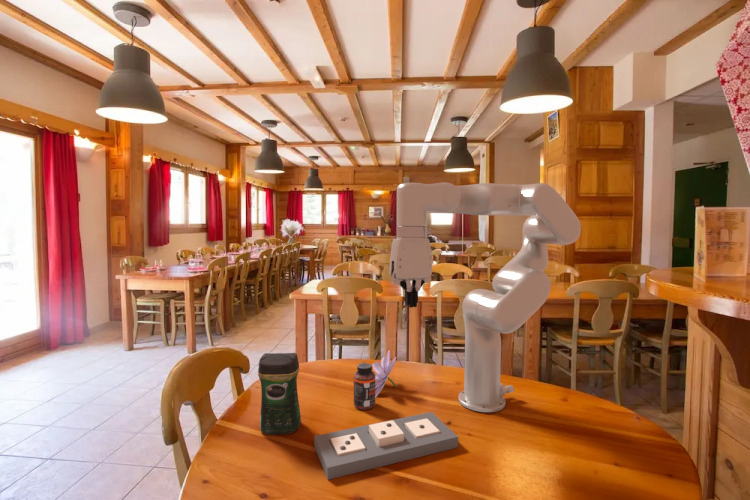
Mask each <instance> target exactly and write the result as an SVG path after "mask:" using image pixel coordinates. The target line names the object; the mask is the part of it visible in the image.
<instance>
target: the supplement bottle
mask: <svg viewBox="0 0 750 500" xmlns="http://www.w3.org/2000/svg"><path fill="white" fill-rule="evenodd" d="M356 369H357V371H355V372H354V374H353V406H354V408H356V409H358V410H362V411H363V410H364V411H365V410H366V411H367V410H371V409H373V408H374V407H375V406H376V397H375V392H376V389H375V384H376V383H375V374H376V372H375V371H374V370H373V364H371V363H366V362H361V363H359V364H357V367H356Z"/></svg>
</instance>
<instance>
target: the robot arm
mask: <svg viewBox="0 0 750 500" xmlns="http://www.w3.org/2000/svg"><path fill="white" fill-rule="evenodd" d="M428 214H460V215H461V214H463V215H470V216H503V217H504V216H509V217H510V216H512V217H513V216H514V217H516V216H517V217H519V216H520V217H522V216H527V218H526V219H525V221H524V222H523V226H522V231H521V233H522V246H521V249H520V250H519V251H518V252H517V253H516V255H515V256H514V257H512V259H510V260H509V261H508V262H507V263H506V264H505V265H504V266H503V267H501V268H500V269H499V270H498V271H497V272H496V273H495V275H494V277H493V278H492V283H491V286H492V289H493V290H489V289H486V288H485V289H484V288H476V289H472V290H471V291H469V292H468V293H467V294H466V295H465V297H464V298H463V300H462V301H463V302H462V306H461V307H462V308H461V309H462V310H461V311H462V316H463V322H464V331H465V332H464V333H465V336H464V343H465V344H464V381H463V382H464V383H463V384H464V386H463V387H464V389H463V390H461V391H460V392H459V393H458V402H459V404H460V405H461V406H463V407H464V408H467V409H469V410H470V411H474V412H479V413H496V412H500V411H502V410H503V409H504V408H505V407H506V399H505V397H504V395H506V394H510V393H513V392H514V391H515V388H514V386H513V385H512V384H509V385H504V383H503V382H501V359H502V357H501V355H502V354H501V353H502V338H501V334H505V335H507V334H511V333H514V332H516V331H517V330H518V329H519V328H521V327H522V326H524V324H525V323H526V322H527V321H528V320H529V319H530V318H531V317H532V316H533V315H534V314H535V313H537V311H538V310H539V309H540V308H541V307H542V306H543V305H544V304H545V303H546V302H547V300H548V298H549V295H550V294H551V293H550V292H551V281H550V278H549V277H548V275H547V274H546V273H545V270H546V269H547V268H548V265H549V253H548V251H549V250H548V245H559V246H568V245H571V244H573V243H576V241H577V240H579V237H580V235H581V233H582V232H581V231H582V226H581V222H580V220H579V218H578V217H577V215H576V213H575V212H574V211H573V210H572V208H571V207H570V206H569V204H568V203H567V202H566V201H565V199H564V198H563V197H562V195H560V193H559V192H558V191H557V190H556V189H555V188H554V187H553V186H551V185H550V184H548V183H544V182H540V183H539V182H538V183H529V184H512V183H511V184H508V183H507V184H506V183H502V184H501V183H492V182H491V183H489V182H488V183H484V182H483V183H474V184H467V185H455V184H453V183H450V182H447V181H446V182H436V183H422V182H402V183H400V184H399V185H398V186H397V187H396V238H393V239H392V243H391V249H390V256H389V268H388V269H389V276H390V277H391V278H390V283H391V284H392V285H397V286H400V287H401V288H402V290H403V291H404V304H405V306H407V307H409V308H411V309H412V308H417V306H418V302H419V292H420V290H421V288H422V287H423V285H424V284H427V283H430V282H432V277H431V276H432V273H433V257H432V255H433V254H432V248H431V247H432V246H431V242H430V239H429V238H428V237H429V236H428V235H431V234H432V229H431V228H428Z"/></svg>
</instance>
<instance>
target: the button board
mask: <svg viewBox="0 0 750 500" xmlns="http://www.w3.org/2000/svg"><path fill="white" fill-rule="evenodd" d="M426 418H427V419H428V420H429V421H430V422H431V423H432V424H433V425H434V426H435V427H436V428H437V429H438V430H439V431H440V433H439V434H435V435H430V436H426V437H422V438H417V439H415V438H414V437H413V435H412V434H411V433H410V432H409V431H408V430H407V428H406V427H405V423H407V422H412V421H417V420H422V419H426ZM391 420H393V421H394V422H395V423H396V424H397V426H398V427H399V428H400V429H401V430H402V432H403V433H404V442H400V443H396V444H391V445H387V446H383V447H377V446H376V444H375V443H374V441H373V440H372V438H371V437H370V435H369V425H372V424H373V423H372V424H366V425H360V426H357V427H352V428H347V429H341V430H336V431H332V432H327V433H323V434H318V435H314V436H313V438H314V439H313V440H314V441H313V442H314V444H313V447H314V450H315V452H316V454H317V457H318V459H319V462H320V464H321V467H322V469H323V471H324V474H325V476H326V479H327V480H328V481H329V480H333V479H337V478H340V477H346V476H348V475H353V474H356V473H361V472H364V471H369V470H373V469H376V468H380V467H384V466H388V465H389V466H390V465H393V464H397V463H400V462H405V461H409V460H413V459H418V458H420V457H425V456H429V455H433V454H436V453H440V452H445V451H448V450H453V449H458V448H459V436H458V434H456V433H455V432H454V431H453V430H452V429H451V428H450V427H448V426H447V425H446V424H445V423H444V422H443V421H442V419H440V418H439V417H438V416H437V415H436V414H435V413H434V412H433V411H430V412H425V413H419V414H414V415H410V416H405V417H400V418H396V419H395V418H394V419H391ZM391 420H389V421H391ZM386 421H387V420H385V421H384V422H386ZM381 422H382V421H381ZM381 422H379V423H381ZM376 423H377V422H375V423H374V424H376ZM355 433H357V435H358V436H359V438H360V440H361V441H362V443H363V445H364V446H365V451H361V452H356V453H352V454H348V455H343V456H339V457H337V456H336V454H335V452H334V449H333V447H332V445H331V438H336V437H341V436H345V435H350V434H355Z"/></svg>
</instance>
